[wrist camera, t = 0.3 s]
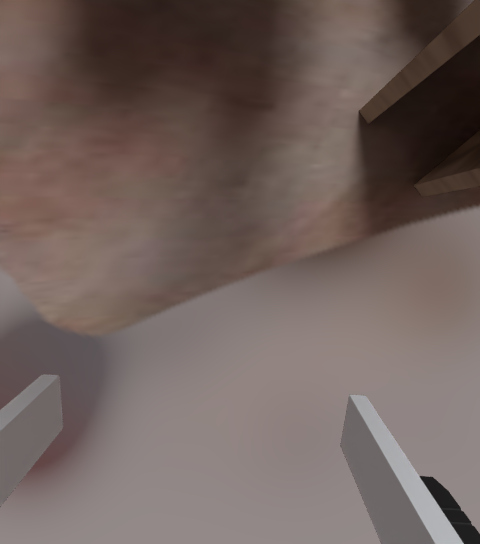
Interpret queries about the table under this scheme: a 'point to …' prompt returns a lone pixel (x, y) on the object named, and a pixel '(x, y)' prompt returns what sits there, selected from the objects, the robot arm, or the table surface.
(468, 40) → the stand
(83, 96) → the table surface
